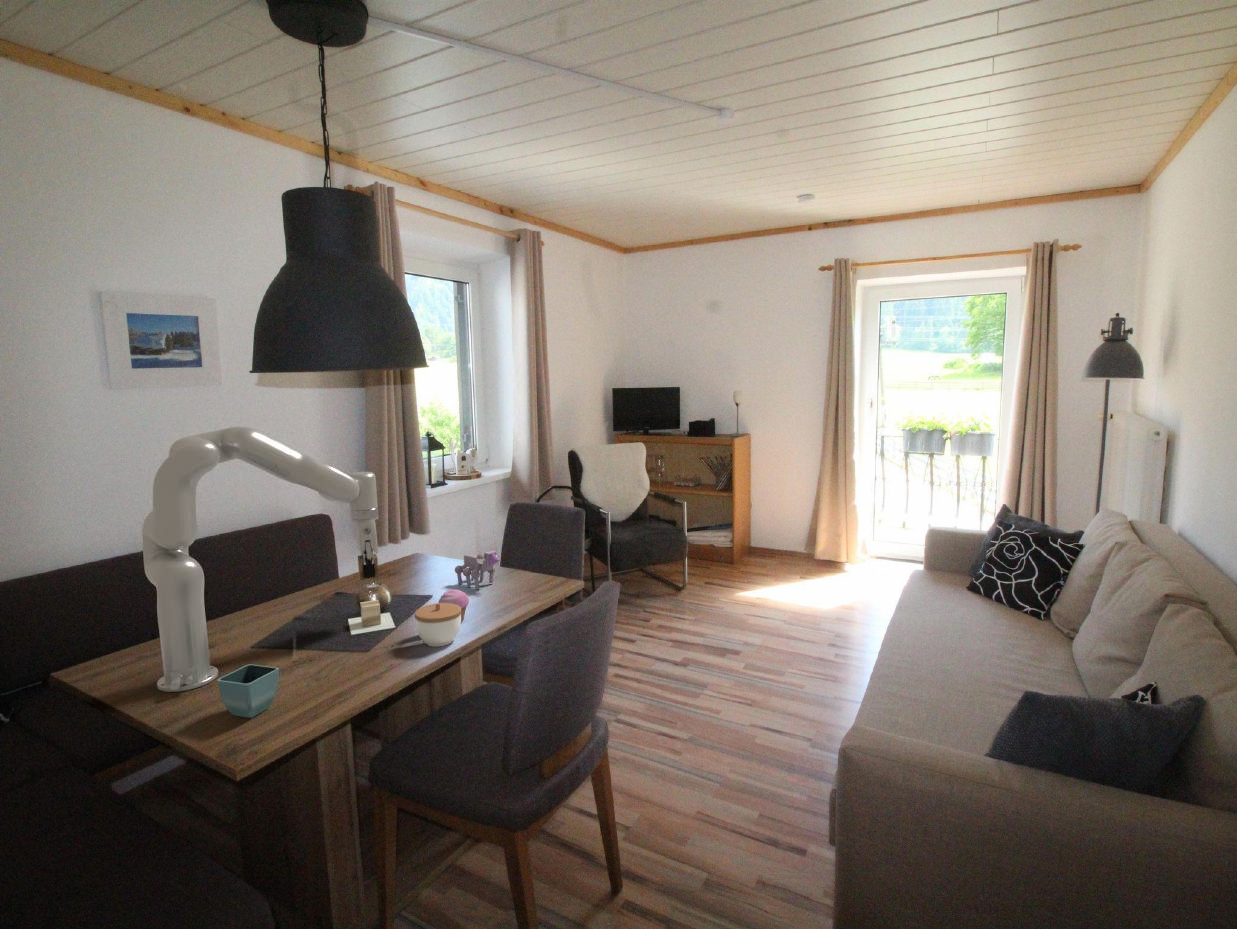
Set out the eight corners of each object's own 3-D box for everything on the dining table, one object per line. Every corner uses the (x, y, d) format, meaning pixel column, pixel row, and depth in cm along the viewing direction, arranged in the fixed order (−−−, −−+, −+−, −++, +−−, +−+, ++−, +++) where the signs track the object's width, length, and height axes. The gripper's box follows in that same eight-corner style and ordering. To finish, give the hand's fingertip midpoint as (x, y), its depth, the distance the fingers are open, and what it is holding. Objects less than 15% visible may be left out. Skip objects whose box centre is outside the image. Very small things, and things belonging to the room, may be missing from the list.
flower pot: (252, 700, 151) (248, 663, 150) (283, 705, 148) (280, 667, 147) (219, 719, 142) (215, 679, 141) (251, 724, 140) (247, 684, 139)
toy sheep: (513, 587, 231) (510, 550, 229) (490, 596, 223) (487, 558, 221) (476, 577, 244) (473, 542, 241) (453, 586, 235) (449, 549, 233)
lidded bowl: (437, 630, 192) (435, 594, 190) (472, 637, 186) (470, 599, 185) (406, 646, 181) (404, 607, 179) (441, 653, 175) (439, 614, 174)
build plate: (395, 631, 192) (395, 627, 192) (351, 638, 186) (351, 634, 186) (389, 616, 204) (389, 612, 204) (348, 622, 199) (347, 619, 199)
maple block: (381, 624, 194) (379, 604, 193) (363, 627, 192) (361, 607, 191) (379, 618, 198) (378, 599, 198) (361, 621, 196) (360, 602, 196)
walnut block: (378, 577, 192) (377, 557, 192) (360, 579, 190) (359, 559, 189) (376, 572, 197) (375, 553, 196) (359, 575, 195) (357, 555, 194)
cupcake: (453, 615, 204) (451, 584, 203) (475, 619, 200) (474, 587, 199) (433, 625, 196) (431, 593, 195) (456, 629, 192) (455, 596, 191)
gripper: (381, 518, 185) (385, 580, 187) (374, 508, 200) (378, 565, 203) (352, 521, 182) (357, 584, 184) (348, 510, 197) (352, 569, 199)
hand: (368, 574), depth 193 cm, fingers closed on walnut block, 5 cm apart
